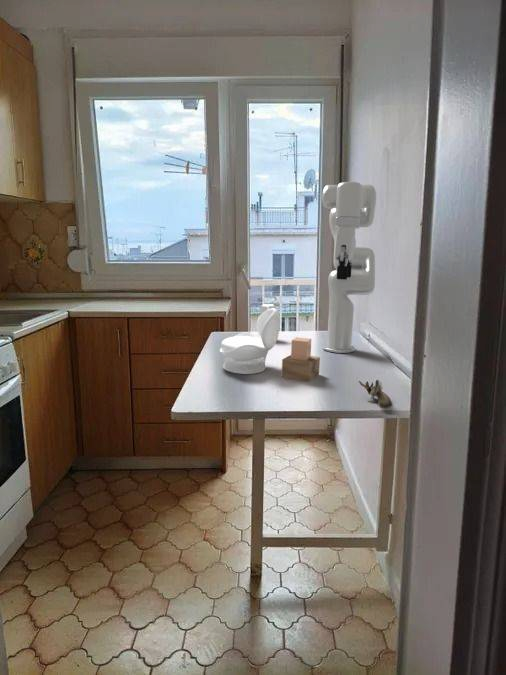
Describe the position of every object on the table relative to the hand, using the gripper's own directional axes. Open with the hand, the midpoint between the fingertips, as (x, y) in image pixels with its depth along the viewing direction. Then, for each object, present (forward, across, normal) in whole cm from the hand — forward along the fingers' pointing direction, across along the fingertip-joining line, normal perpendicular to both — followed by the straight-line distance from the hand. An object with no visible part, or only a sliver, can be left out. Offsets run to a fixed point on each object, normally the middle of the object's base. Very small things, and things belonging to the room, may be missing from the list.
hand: (343, 278), depth 144 cm
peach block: (+25, +13, -10) cm, 30 cm away
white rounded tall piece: (+31, -35, -36) cm, 59 cm away
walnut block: (+31, +13, -10) cm, 35 cm away
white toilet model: (+31, +10, -28) cm, 43 cm away
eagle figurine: (+31, +28, +14) cm, 44 cm away
